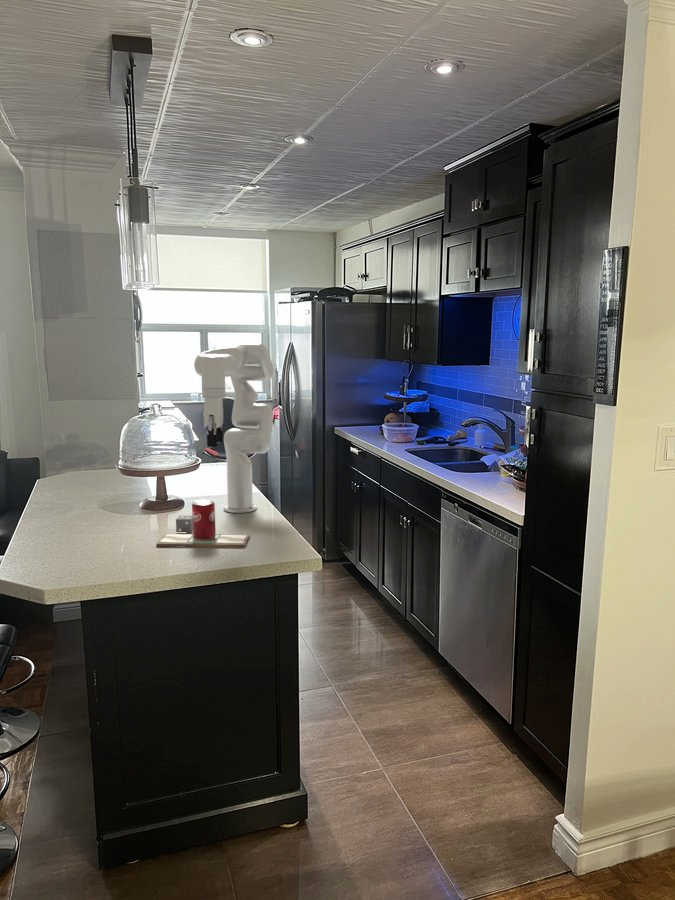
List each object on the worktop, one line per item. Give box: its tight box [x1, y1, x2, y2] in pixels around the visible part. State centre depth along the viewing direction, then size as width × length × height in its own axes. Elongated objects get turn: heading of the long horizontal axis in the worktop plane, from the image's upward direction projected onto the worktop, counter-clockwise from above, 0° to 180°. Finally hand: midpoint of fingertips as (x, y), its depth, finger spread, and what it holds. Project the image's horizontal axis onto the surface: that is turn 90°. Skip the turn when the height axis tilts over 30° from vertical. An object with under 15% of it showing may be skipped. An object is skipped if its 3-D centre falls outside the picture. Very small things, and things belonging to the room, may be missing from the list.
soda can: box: [191, 499, 216, 541], centre depth 216 cm, size 7×7×12 cm
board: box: [155, 533, 251, 549], centre depth 217 cm, size 11×28×1 cm, turn 89°
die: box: [175, 514, 193, 534], centre depth 229 cm, size 5×5×5 cm
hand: (215, 444), depth 224 cm, fingers open, 9 cm apart
